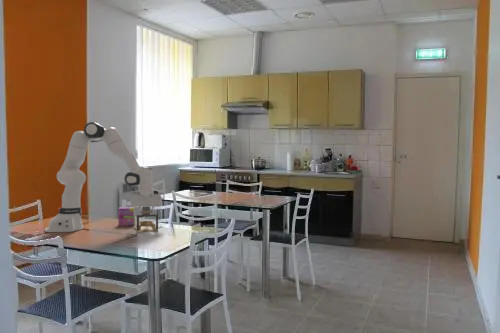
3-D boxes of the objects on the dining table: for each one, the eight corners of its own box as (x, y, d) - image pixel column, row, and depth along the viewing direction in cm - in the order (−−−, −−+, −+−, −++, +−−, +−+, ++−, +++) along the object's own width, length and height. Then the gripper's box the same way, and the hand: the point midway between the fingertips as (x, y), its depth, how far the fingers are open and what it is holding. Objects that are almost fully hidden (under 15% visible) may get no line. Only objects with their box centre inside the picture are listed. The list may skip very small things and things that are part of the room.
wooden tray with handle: (136, 232, 273) (136, 215, 272) (133, 227, 288) (133, 211, 287) (158, 231, 278) (158, 214, 277) (154, 226, 293) (154, 210, 292)
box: (118, 225, 294) (118, 208, 294) (119, 224, 300) (119, 207, 299) (134, 225, 296) (134, 208, 295) (135, 223, 301) (135, 206, 301)
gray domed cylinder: (142, 216, 280) (142, 207, 279) (141, 215, 284) (141, 206, 284) (150, 216, 282) (150, 207, 281) (149, 215, 286) (149, 206, 286)
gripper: (130, 192, 275) (130, 214, 276) (162, 191, 283) (162, 212, 284) (128, 191, 281) (129, 212, 282) (160, 190, 289) (160, 211, 289)
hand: (146, 212), depth 283 cm, fingers closed on gray domed cylinder, 5 cm apart
